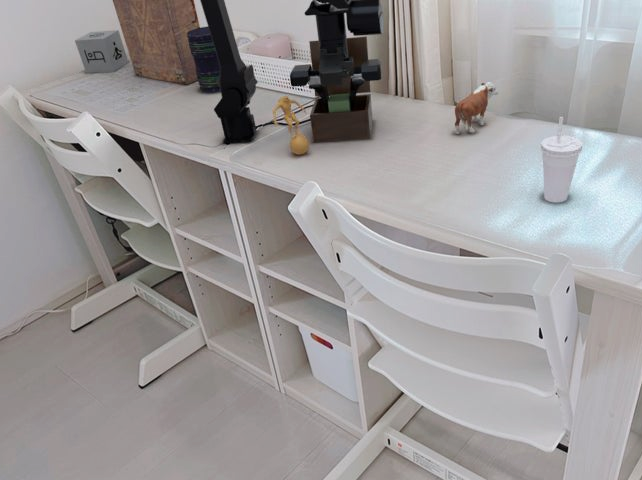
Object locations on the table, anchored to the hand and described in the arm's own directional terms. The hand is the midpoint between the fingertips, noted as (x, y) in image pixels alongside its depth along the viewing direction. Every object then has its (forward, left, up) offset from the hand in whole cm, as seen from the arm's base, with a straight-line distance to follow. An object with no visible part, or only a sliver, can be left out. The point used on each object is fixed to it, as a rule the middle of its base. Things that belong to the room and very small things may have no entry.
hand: (340, 113), depth 132 cm
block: (0, 0, -1) cm, 1 cm away
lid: (0, +7, +7) cm, 11 cm away
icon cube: (-84, +70, -5) cm, 109 cm away
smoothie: (+39, -34, -5) cm, 52 cm away
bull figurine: (+29, 0, -5) cm, 29 cm away
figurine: (-9, -8, -5) cm, 13 cm away
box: (0, +2, -5) cm, 5 cm away
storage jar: (-39, +40, -5) cm, 56 cm away
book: (-57, +55, -5) cm, 79 cm away
